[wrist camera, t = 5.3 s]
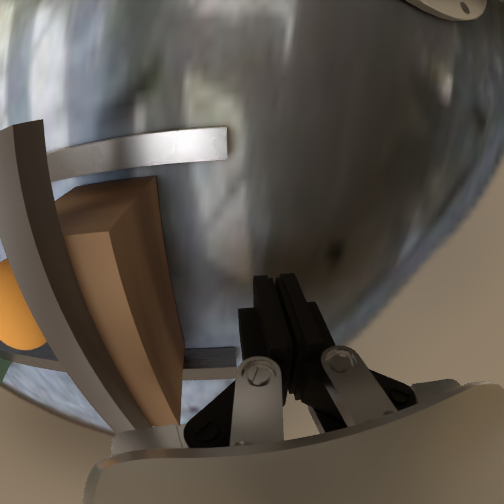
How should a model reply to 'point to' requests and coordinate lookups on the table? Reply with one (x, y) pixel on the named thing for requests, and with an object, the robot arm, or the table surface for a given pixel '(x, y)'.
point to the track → (129, 156)
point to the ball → (16, 314)
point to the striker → (95, 282)
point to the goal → (3, 368)
